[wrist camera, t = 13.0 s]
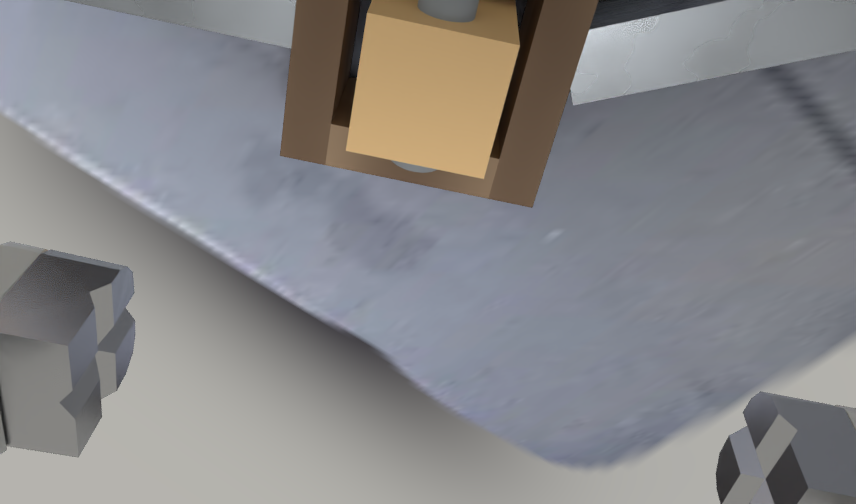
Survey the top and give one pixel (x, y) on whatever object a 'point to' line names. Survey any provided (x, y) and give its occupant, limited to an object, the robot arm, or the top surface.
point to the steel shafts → (600, 36)
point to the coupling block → (433, 82)
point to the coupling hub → (519, 123)
